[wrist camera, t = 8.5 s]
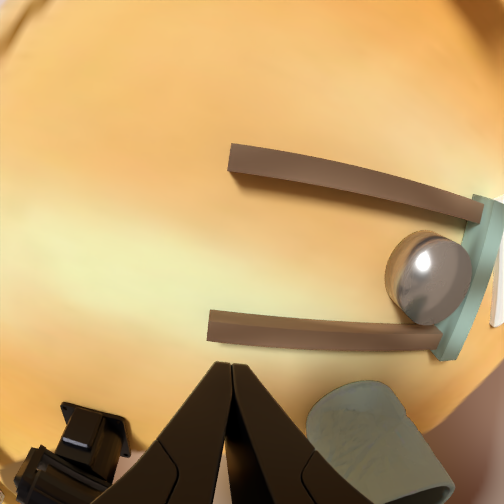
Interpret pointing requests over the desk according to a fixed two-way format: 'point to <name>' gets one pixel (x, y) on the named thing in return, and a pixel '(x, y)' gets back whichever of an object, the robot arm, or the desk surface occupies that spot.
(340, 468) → the pale green cup
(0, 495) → the tea box
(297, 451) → the robot arm
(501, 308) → the external hard drive
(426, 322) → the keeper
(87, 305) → the desk surface
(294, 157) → the channel
